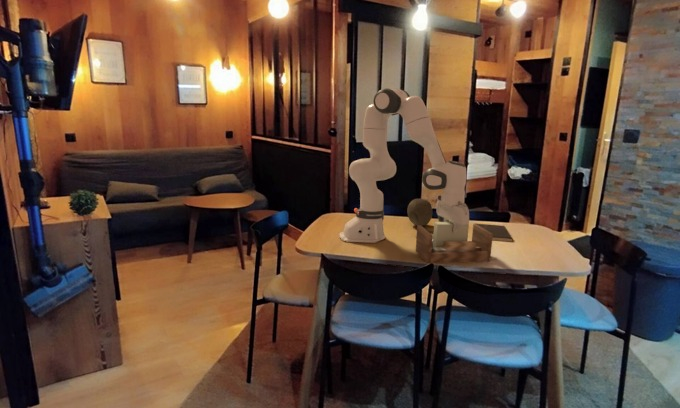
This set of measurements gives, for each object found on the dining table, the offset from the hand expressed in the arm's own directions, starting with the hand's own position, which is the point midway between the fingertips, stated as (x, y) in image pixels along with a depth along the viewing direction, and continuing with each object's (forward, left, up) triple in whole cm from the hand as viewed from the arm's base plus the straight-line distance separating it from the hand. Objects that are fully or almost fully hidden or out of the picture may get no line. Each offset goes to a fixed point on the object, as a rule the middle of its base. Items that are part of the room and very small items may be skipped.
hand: (450, 230), depth 176 cm
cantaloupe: (+1, +45, -11) cm, 46 cm away
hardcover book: (+35, +28, -11) cm, 46 cm away
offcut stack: (0, -7, -11) cm, 13 cm away
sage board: (0, 0, -11) cm, 11 cm away
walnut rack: (0, -2, -11) cm, 11 cm away
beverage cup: (+18, +54, -11) cm, 58 cm away
